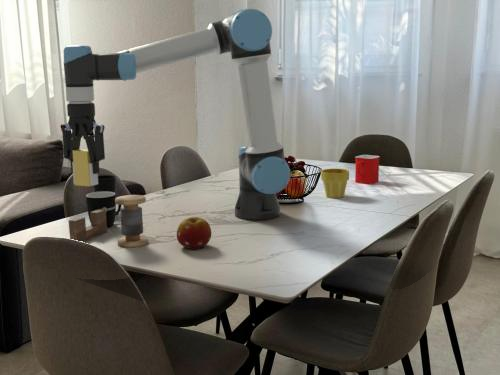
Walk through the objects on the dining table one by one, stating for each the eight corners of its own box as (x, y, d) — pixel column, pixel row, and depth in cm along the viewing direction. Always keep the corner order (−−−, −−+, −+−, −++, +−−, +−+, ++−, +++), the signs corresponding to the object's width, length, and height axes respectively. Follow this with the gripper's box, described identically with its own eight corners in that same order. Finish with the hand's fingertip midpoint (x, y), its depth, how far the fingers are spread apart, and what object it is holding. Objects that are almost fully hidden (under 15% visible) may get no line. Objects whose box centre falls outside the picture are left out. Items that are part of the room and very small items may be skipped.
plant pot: (317, 198, 223) (317, 172, 221) (324, 192, 232) (325, 167, 230) (345, 200, 219) (345, 173, 217) (351, 194, 228) (352, 169, 226)
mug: (100, 231, 183) (98, 198, 181) (82, 226, 189) (79, 195, 187) (130, 222, 192) (129, 191, 190) (112, 218, 198) (110, 188, 196)
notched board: (107, 232, 182) (105, 209, 181) (77, 245, 170) (75, 220, 168) (100, 231, 183) (99, 208, 182) (70, 244, 170) (68, 220, 169)
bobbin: (153, 240, 173) (151, 196, 170) (137, 248, 165) (134, 202, 163) (128, 237, 176) (126, 194, 173) (111, 245, 168) (108, 200, 166)
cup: (111, 214, 204) (109, 179, 201) (91, 213, 205) (88, 178, 203) (121, 208, 211) (119, 175, 209) (100, 208, 213) (98, 174, 210)
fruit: (182, 253, 161) (181, 224, 159) (172, 244, 169) (171, 217, 167) (216, 248, 164) (215, 220, 163) (205, 240, 172) (204, 213, 171)
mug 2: (362, 179, 257) (363, 154, 255) (380, 181, 252) (381, 156, 250) (348, 183, 248) (348, 158, 246) (366, 186, 243) (367, 160, 241)
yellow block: (96, 184, 174) (94, 149, 172) (89, 186, 171) (87, 151, 169) (82, 183, 176) (80, 148, 174) (74, 185, 172) (72, 150, 170)
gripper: (115, 102, 168) (120, 183, 173) (63, 101, 175) (69, 179, 180) (99, 103, 162) (104, 188, 166) (45, 102, 168) (52, 184, 173)
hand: (86, 183), depth 173 cm, fingers closed on yellow block, 5 cm apart
